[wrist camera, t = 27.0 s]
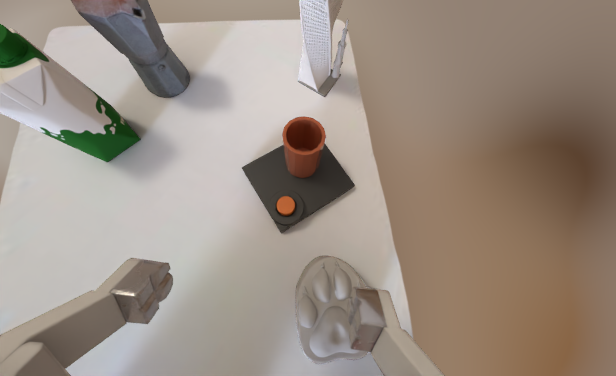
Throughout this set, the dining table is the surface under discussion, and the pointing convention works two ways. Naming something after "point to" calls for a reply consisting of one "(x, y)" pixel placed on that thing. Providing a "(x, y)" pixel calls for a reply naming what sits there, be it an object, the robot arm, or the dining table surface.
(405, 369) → the robot arm
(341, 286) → the lumpy-topped squat cylinder
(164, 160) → the dining table surface
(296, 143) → the cup
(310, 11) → the skyscraper
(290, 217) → the dark grey flat block
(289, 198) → the button
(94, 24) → the moka pot
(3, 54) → the milk carton
